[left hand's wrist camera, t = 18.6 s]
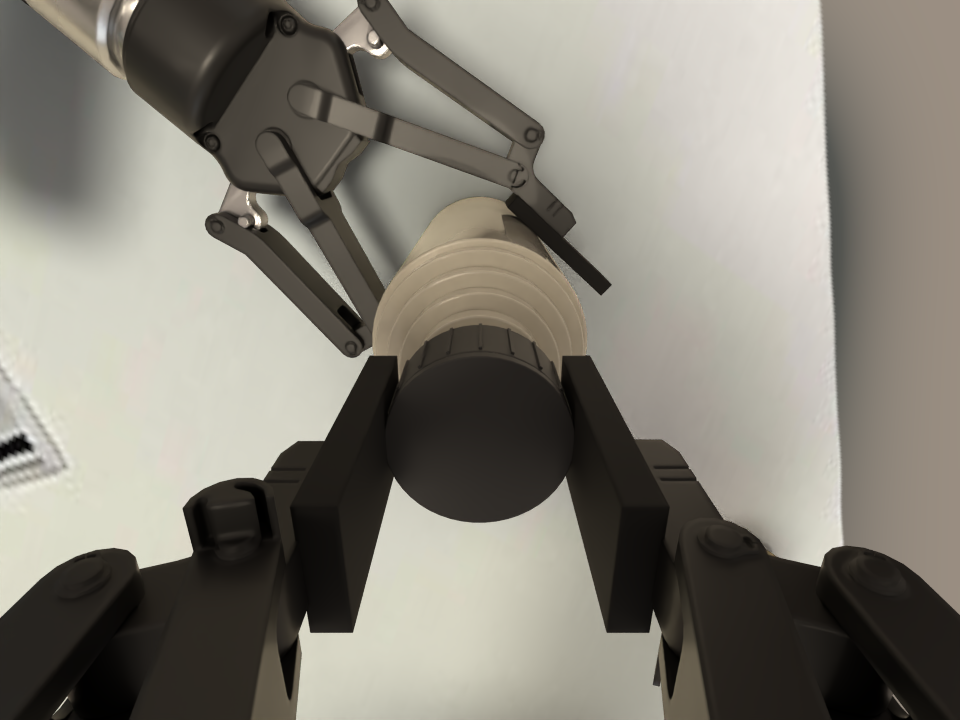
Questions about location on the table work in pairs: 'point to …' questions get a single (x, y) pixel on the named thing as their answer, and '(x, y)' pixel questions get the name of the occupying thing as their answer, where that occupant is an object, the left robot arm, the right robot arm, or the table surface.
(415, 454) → the cap
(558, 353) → the bottle
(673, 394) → the table surface
